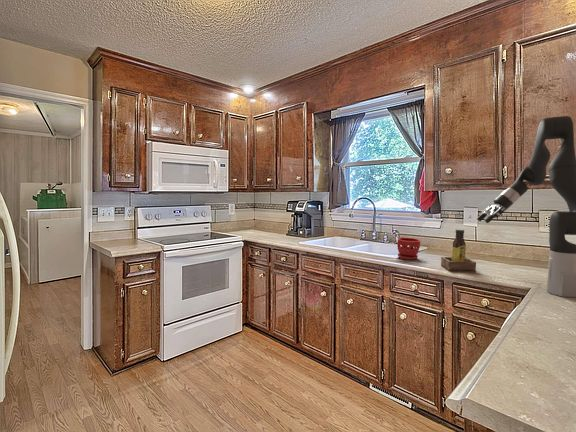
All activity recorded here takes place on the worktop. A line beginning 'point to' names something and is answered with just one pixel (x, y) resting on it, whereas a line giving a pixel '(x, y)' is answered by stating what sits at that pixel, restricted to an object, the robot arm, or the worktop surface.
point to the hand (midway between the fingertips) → (481, 221)
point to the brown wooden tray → (458, 265)
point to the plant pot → (408, 248)
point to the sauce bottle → (459, 247)
